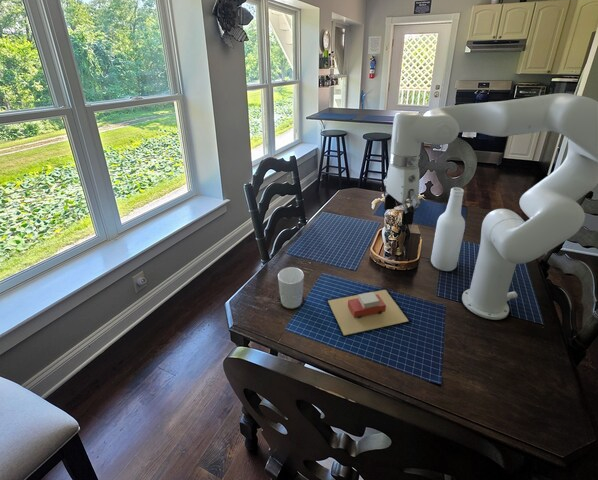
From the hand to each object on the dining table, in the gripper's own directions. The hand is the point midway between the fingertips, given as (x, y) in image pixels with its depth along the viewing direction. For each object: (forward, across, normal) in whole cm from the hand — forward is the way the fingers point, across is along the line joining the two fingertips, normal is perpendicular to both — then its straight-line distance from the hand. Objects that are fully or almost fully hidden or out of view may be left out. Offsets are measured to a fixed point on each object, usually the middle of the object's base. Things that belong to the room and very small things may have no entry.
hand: (397, 216), depth 93 cm
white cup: (+28, +5, +31) cm, 42 cm away
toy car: (+28, -5, +10) cm, 30 cm away
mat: (+28, -5, +10) cm, 30 cm away
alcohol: (+28, +9, -27) cm, 40 cm away
